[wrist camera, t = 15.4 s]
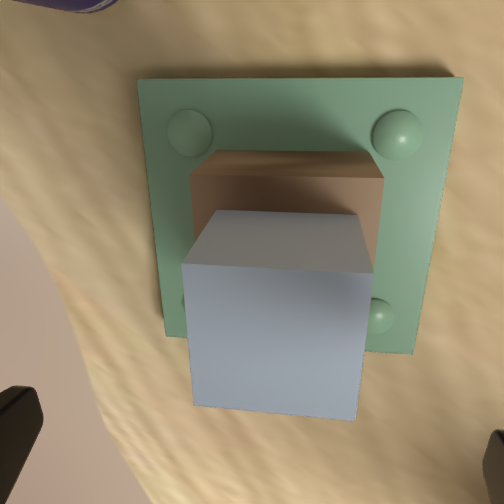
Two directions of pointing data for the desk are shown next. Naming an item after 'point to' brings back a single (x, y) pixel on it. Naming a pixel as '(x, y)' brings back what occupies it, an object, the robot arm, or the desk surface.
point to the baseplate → (309, 139)
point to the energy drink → (73, 4)
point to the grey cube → (278, 312)
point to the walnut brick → (290, 186)
